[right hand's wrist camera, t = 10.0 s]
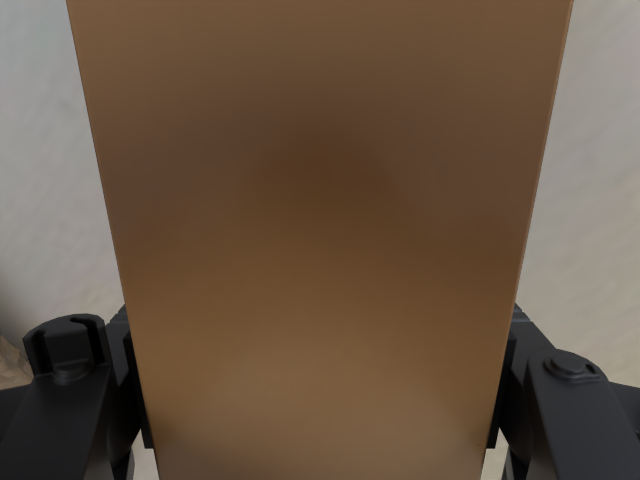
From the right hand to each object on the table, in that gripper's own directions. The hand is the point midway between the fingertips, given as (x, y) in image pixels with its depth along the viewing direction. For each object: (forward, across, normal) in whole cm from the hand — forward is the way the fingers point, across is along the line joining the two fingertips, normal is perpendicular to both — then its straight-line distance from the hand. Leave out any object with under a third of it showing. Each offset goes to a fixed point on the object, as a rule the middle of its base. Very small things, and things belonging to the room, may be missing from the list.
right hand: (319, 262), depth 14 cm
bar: (0, 0, -8) cm, 8 cm away
